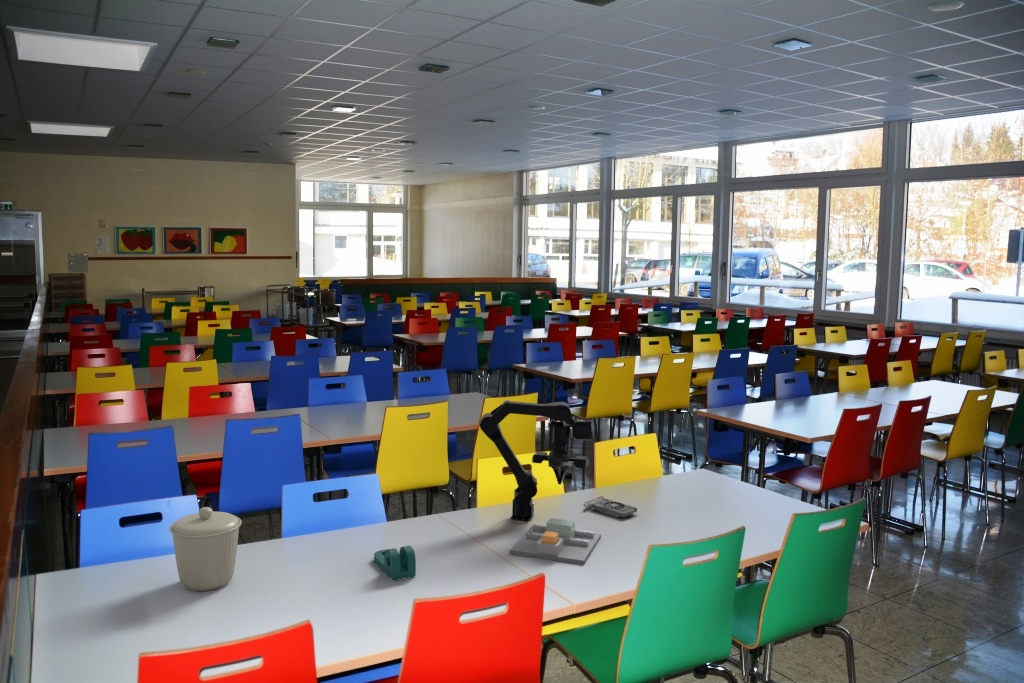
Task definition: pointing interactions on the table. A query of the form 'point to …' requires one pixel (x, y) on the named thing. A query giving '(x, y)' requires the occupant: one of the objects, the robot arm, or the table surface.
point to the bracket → (397, 562)
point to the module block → (561, 527)
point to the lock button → (550, 537)
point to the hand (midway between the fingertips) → (559, 484)
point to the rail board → (556, 546)
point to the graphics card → (610, 507)
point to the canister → (205, 548)
